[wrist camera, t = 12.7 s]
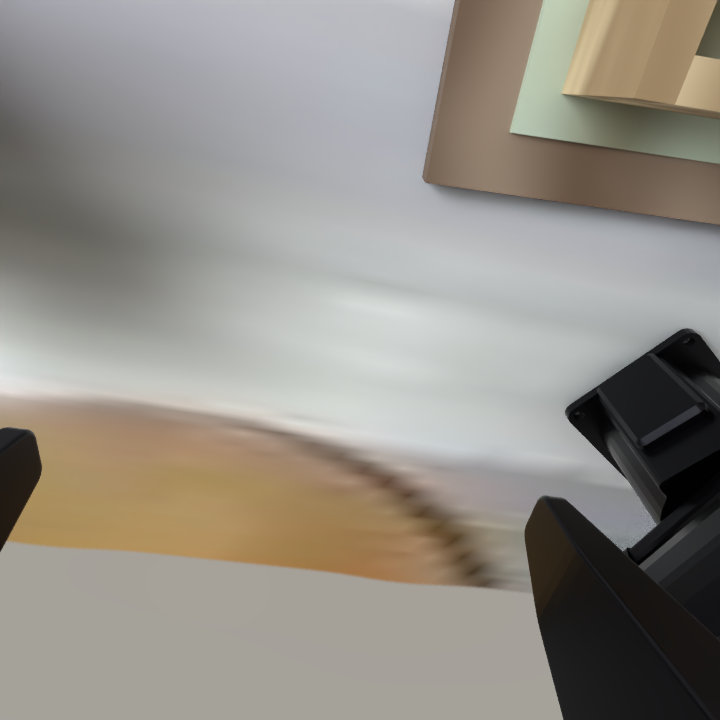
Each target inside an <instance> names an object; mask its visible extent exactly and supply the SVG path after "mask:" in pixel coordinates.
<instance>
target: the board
mask: <svg viewBox="0 0 720 720" xmlns="http://www.w3.org/2000/svg"><path fill="white" fill-rule="evenodd" d="M589 1H590V0H455V4H454V9H453V15H452V20H451V25H450V31H449V36H448V41H447V47H446V52H445V58H444V63H443V68H442V74H441V79H440V85H439V90H438V95H437V101H436V106H435V111H434V117H433V122H432V128H431V133H430V138H429V144H428V149H427V154H426V160H425V165H424V171H423V176H422V177H423V179H424V181H425V183H432V184H439V185H446V186H452V187H459V188H466V189H473V190H480V191H487V192H494V193H501V194H508V195H515V196H522V197H529V198H536V199H543V200H550V201H557V202H564V203H571V204H578V205H585V206H592V207H599V208H606V209H613V210H620V211H627V212H634V213H641V214H648V215H655V216H662V217H669V218H676V219H682V220H689V221H696V222H703V223H710V224H717V225H720V120H719V119H713V118H707V117H701V116H695V115H689V114H683V113H676V112H670V111H664V110H658V109H652V108H646V107H640V106H634V105H627V104H621V103H615V102H609V101H603V100H597V99H591V98H585V97H578V96H572V95H566V94H561V93H562V90H563V87H564V83H565V80H566V77H567V74H568V70H569V67H570V64H571V60H572V57H573V54H574V50H575V47H576V44H577V40H578V37H579V34H580V30H581V27H582V24H583V20H584V17H585V14H586V10H587V7H588V4H589ZM695 55H697V56H703V57H709V58H714V59H720V0H717V2H716V5H715V7H714V10H713V12H712V14H711V17H710V19H709V22H708V24H707V27H706V29H705V32H704V34H703V37H702V39H701V42H700V44H699V47H698V49H697V51H696V54H695Z"/></svg>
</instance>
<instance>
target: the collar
mask: <svg viewBox="0 0 720 720" xmlns="http://www.w3.org/2000/svg"><path fill="white" fill-rule="evenodd" d="M716 2H717V0H590V1H589V4H588V7H587V10H586V14H585V17H584V20H583V24H582V27H581V30H580V34H579V37H578V40H577V44H576V47H575V50H574V54H573V57H572V60H571V64H570V67H569V70H568V74H567V77H566V80H565V83H564V87H563V90H562V93H561V94H566V95H572V96H578V97H585V98H591V99H597V100H603V101H609V102H615V103H621V104H627V105H634V106H640V107H646V108H652V109H658V110H664V111H670V112H676V113H683V114H689V115H695V116H701V117H707V118H713V119H719V120H720V59H714V58H709V57H703V56H697V55H695V54H696V51H697V49H698V47H699V44H700V42H701V39H702V37H703V34H704V32H705V29H706V27H707V24H708V22H709V19H710V17H711V14H712V12H713V10H714V7H715V5H716Z"/></svg>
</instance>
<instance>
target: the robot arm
mask: <svg viewBox="0 0 720 720" xmlns="http://www.w3.org/2000/svg"><path fill="white" fill-rule="evenodd" d="M688 338H690V339H689V341H688V342H687V343H684V344H683V342H684V341H685V340H686V339H688ZM577 412H581V413H580V414H578V415H574V414H575V413H577ZM565 414H566V416H567V418H568V420H569V421H570V423H571V424H572V425H573V426H574V427H575V428H576V429H577V430H578V431H579V432H580V433H581V434H582V435H583V436H584V437H585V438H586V439H587V440H588V441H589V442H590V443H591V444H592V445H593V446H594V447H595V448H596V449H597V450H598V451H599V452H600V453H601V454H602V455H603V456H604V457H605V458H606V459H607V460H608V461H609V462H610V463H611V464H612V465H613V466H614V467H615V468H616V469H617V470H618V471H619V472H620V473H621V474H622V475H623V476H624V477H625V478H626V479H627V480H628V481H629V483H630V484H631V486H632V487H633V489H634V490H635V492H636V493H637V495H638V496H639V498H640V500H641V501H642V503H643V504H644V506H645V507H646V509H647V510H648V512H649V513H650V515H651V516H652V518H653V520H654V521H655V523H656V524H657V526H656V527H655V528H653V529H652V530H651V531H650V532H649V533H648V534H647V535H645V536H644V537H643V538H642V539H641V540H640V541H639V542H637V543H636V544H635V545H634V546H633V547H632V548H627V549H625V550H624V551H622V550H620V549H619V548H618V547H617V546H616V545H615V544H614V543H613V542H612V541H611V540H610V539H608V538H607V537H606V536H605V535H604V534H603V533H602V532H601V531H600V530H599V529H598V528H596V527H595V526H594V525H593V524H592V523H591V522H590V521H589V520H588V519H587V518H586V517H584V516H583V515H582V514H581V513H580V512H579V511H578V510H577V509H576V508H575V507H574V506H572V505H571V504H570V503H569V502H568V501H567V500H566V499H564V498H561V497H553V496H541V497H540V498H539V499H538V501H537V503H536V505H535V507H534V509H533V511H532V514H531V516H530V518H529V520H528V522H527V524H526V528H525V544H526V550H527V557H528V563H529V570H530V576H531V583H532V589H533V596H534V602H535V608H536V613H537V619H538V624H539V628H540V632H541V636H542V640H543V644H544V647H545V651H546V655H547V659H548V663H549V666H550V670H551V674H552V678H553V682H554V685H555V689H556V693H557V697H558V701H559V704H560V708H561V712H562V716H563V720H720V361H719V360H718V359H717V357H716V356H715V355H714V353H713V352H712V351H711V349H710V348H709V347H708V346H707V344H706V343H705V342H704V340H703V339H702V338H701V336H700V335H699V334H697V333H696V332H695V331H693V330H692V329H688V328H687V329H682V330H680V331H678V332H677V333H675V334H674V335H672V336H671V337H669V338H668V339H666V340H665V341H663V342H662V343H660V344H659V345H658V346H656V347H655V348H653V349H652V350H650V351H649V352H647V353H646V354H644V355H643V356H641V357H640V358H638V359H637V360H635V361H634V362H632V363H631V364H630V365H628V366H627V367H625V368H624V369H622V370H621V371H619V372H618V373H616V374H615V375H613V376H612V377H610V378H609V379H607V380H606V381H604V382H603V383H602V384H600V385H599V386H597V387H596V388H594V389H593V390H591V391H590V392H588V393H587V394H585V395H584V396H582V397H581V398H579V399H578V400H576V401H575V402H574V403H572V404H571V405H569V406H568V407H567V409H566V411H565ZM41 471H42V464H41V459H40V455H39V450H38V446H37V441H36V437H35V434H34V433H33V432H32V431H30V430H28V429H20V428H12V427H6V428H2V429H0V551H1V550H2V548H3V546H4V544H5V542H6V541H7V539H8V537H9V535H10V533H11V531H12V529H13V528H14V526H15V524H16V522H17V520H18V518H19V516H20V515H21V513H22V511H23V509H24V507H25V505H26V503H27V501H28V500H29V498H30V496H31V494H32V492H33V490H34V488H35V486H36V485H37V483H38V481H39V479H40V476H41Z"/></svg>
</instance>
